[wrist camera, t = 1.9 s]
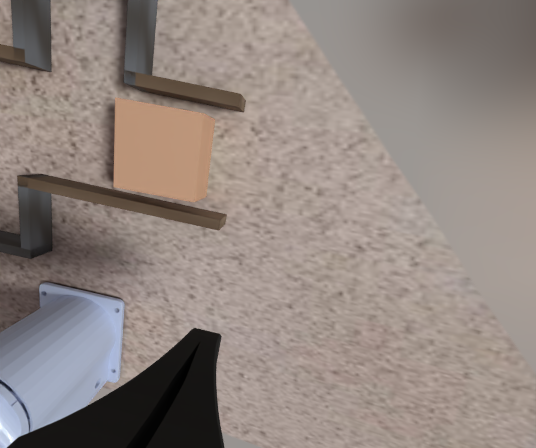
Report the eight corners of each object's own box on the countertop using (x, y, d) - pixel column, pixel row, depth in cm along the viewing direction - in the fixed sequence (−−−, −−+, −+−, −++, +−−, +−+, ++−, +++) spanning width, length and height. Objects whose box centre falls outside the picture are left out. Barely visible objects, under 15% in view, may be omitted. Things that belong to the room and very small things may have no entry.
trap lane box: (214, 287, 23) (207, 299, 21) (-99, 216, 24) (-134, 221, 22) (261, 5, 17) (258, -14, 15) (-151, -76, 18) (-204, -104, 16)
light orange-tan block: (207, 196, 21) (194, 202, 18) (137, 183, 21) (113, 187, 18) (216, 120, 20) (203, 113, 17) (140, 106, 20) (115, 97, 17)
